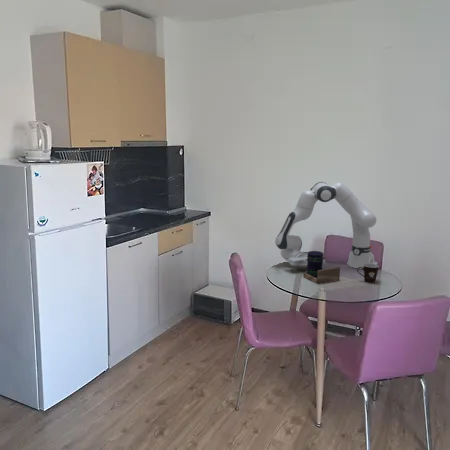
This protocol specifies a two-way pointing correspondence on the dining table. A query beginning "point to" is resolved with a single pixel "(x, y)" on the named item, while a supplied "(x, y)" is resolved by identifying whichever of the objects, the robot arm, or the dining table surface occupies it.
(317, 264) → the dark blue cylinder
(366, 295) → the dining table surface
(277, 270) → the dining table surface
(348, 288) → the dining table surface
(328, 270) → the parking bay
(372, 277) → the coffee mug
